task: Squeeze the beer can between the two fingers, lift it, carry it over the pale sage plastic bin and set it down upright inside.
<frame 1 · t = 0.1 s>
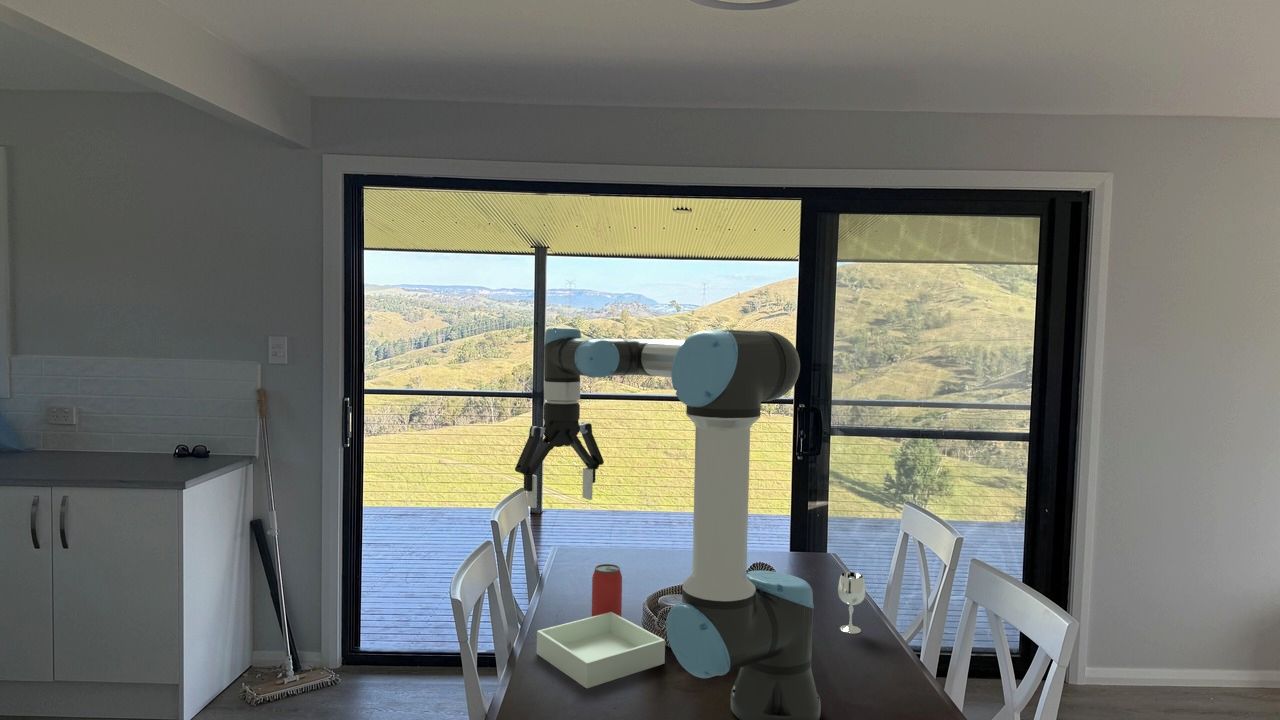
hand: (560, 502, 162), 28 cm above the table, fingers open, 13 cm apart
wineglass: (850, 630, 168), on the table
beer can: (606, 622, 170), on the table
bin: (599, 658, 151), on the table
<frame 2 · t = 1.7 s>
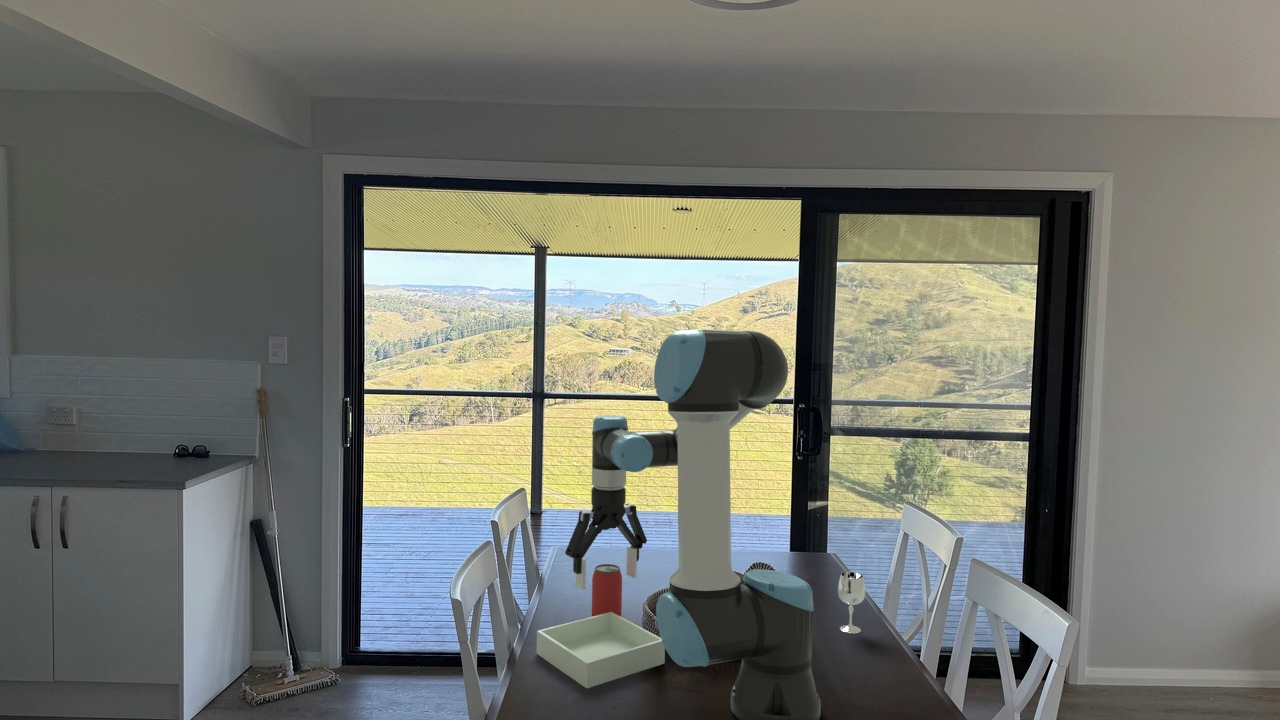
hand: (606, 581, 170), 9 cm above the table, fingers open, 13 cm apart
nothing on the table moved.
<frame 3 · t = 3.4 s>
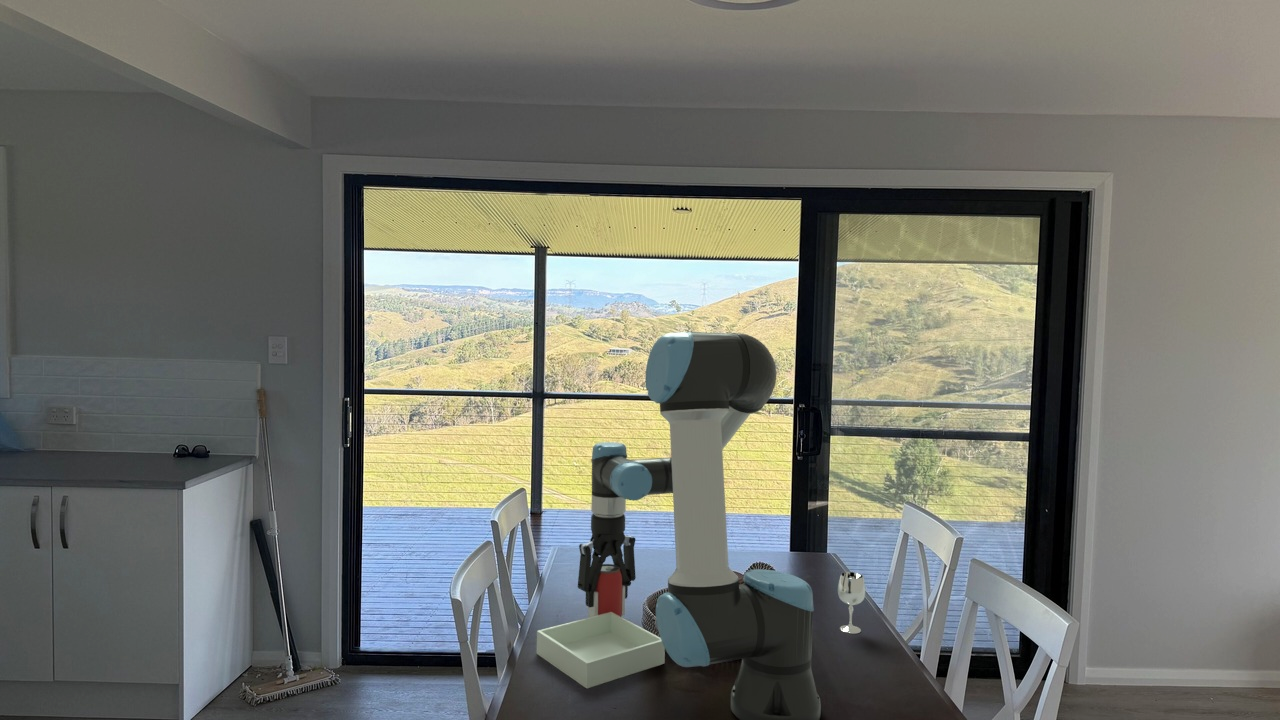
hand: (606, 616, 170), 1 cm above the table, fingers closed on beer can, 6 cm apart
beer can: (606, 622, 170), on the table, touching gripper
everything else where it was.
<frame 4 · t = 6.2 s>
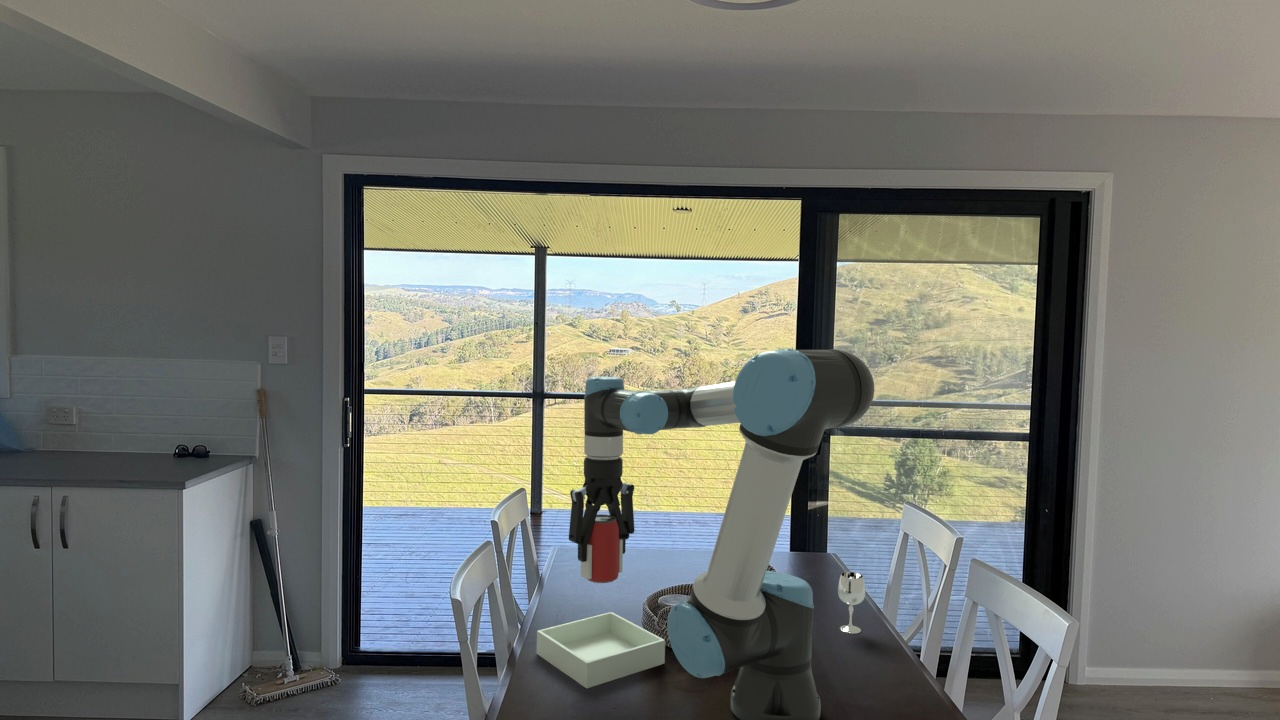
hand: (601, 573, 150), 17 cm above the table, fingers closed on beer can, 6 cm apart
beer can: (601, 579, 150), point 16 cm above the table, touching gripper
everything else where it was.
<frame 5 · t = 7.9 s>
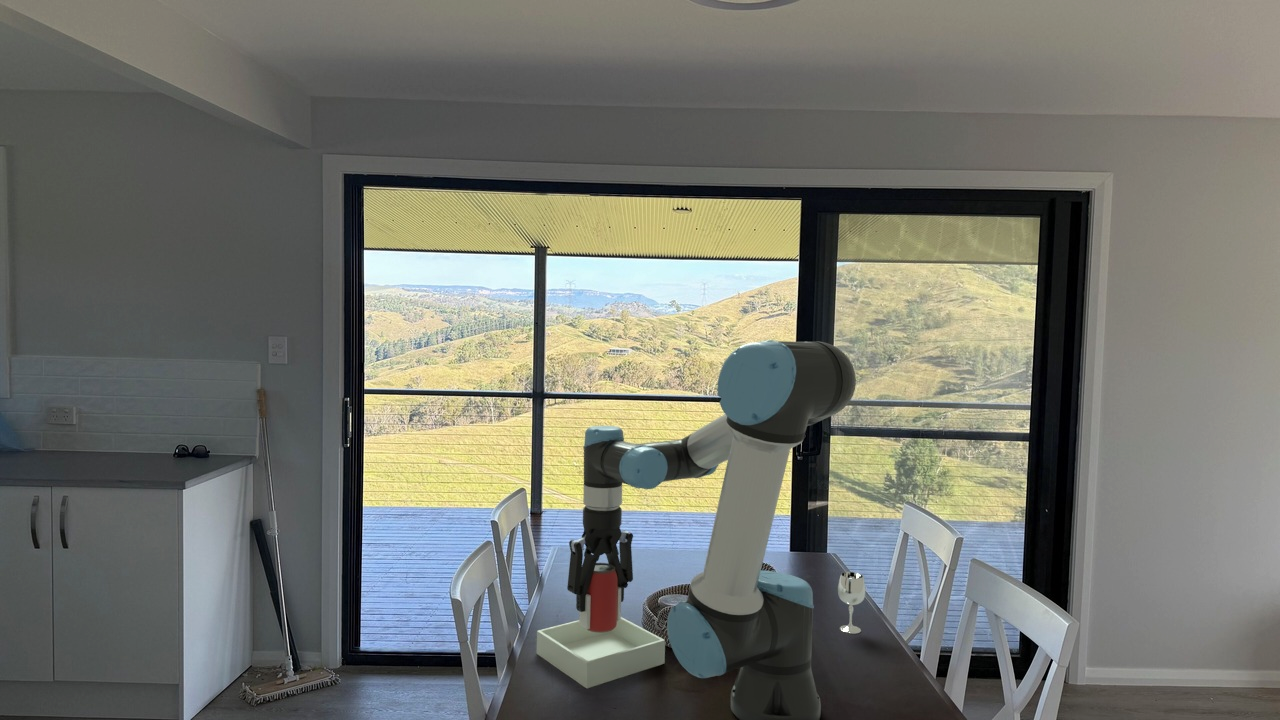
hand: (600, 622, 151), 7 cm above the table, fingers closed on beer can, 6 cm apart
beer can: (599, 628, 151), point 6 cm above the table, touching gripper
everything else where it was.
when the fingers open (4 cm above the table, at t = 9.4 s): beer can drops 2 cm, resting on bin.
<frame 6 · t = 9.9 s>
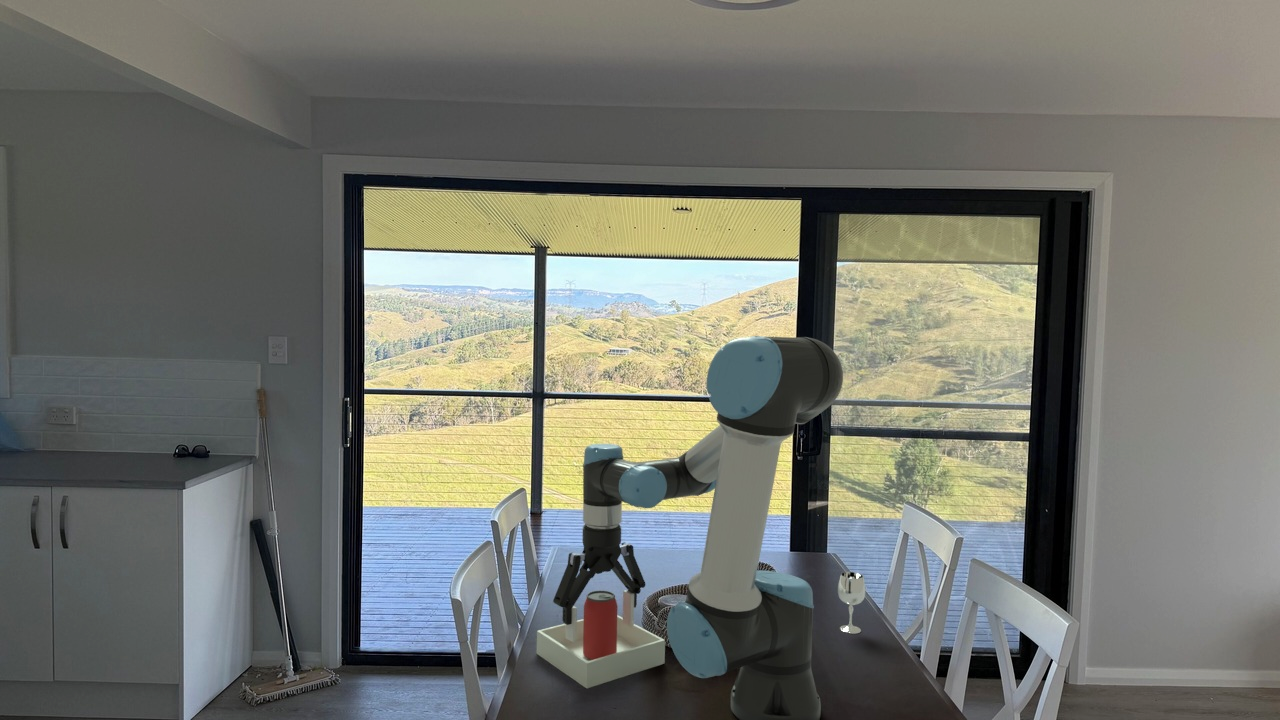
hand: (600, 632, 151), 5 cm above the table, fingers open, 13 cm apart
beer can: (599, 656, 151), resting on bin
everything else where it was.
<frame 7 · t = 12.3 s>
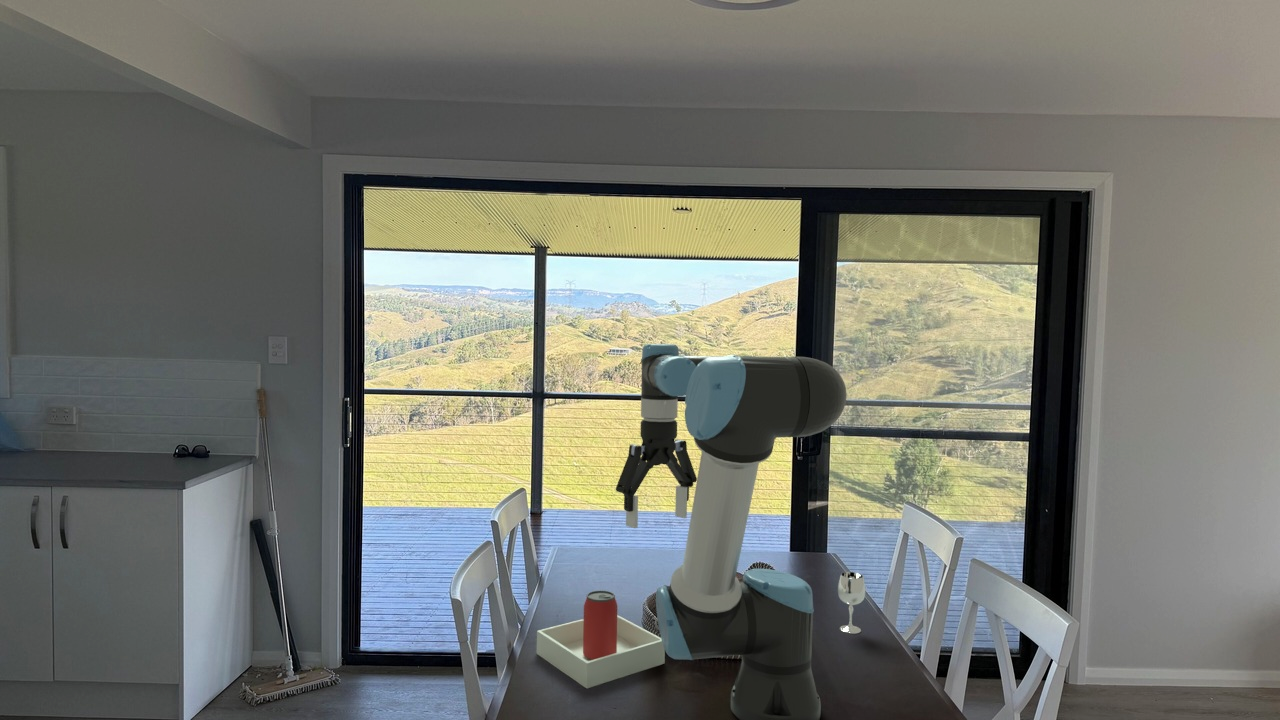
hand: (657, 521, 159), 25 cm above the table, fingers open, 13 cm apart
nothing on the table moved.
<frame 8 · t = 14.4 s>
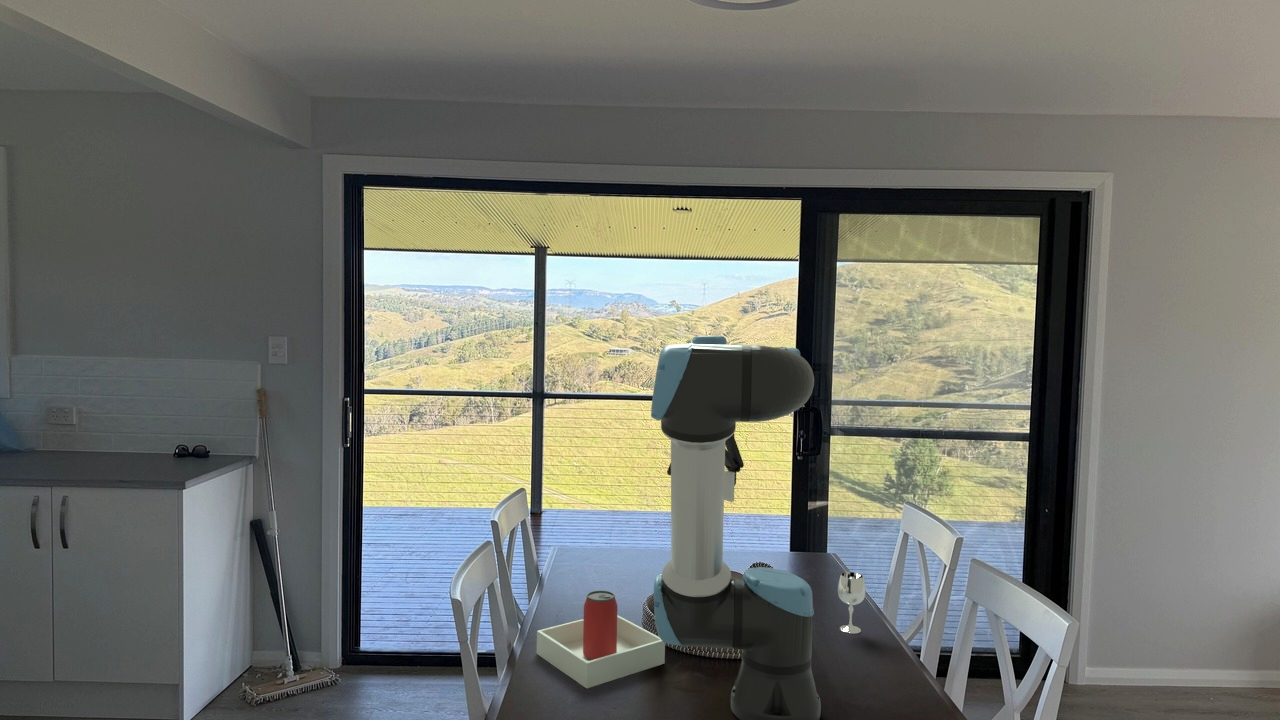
hand: (705, 504, 168), 27 cm above the table, fingers open, 13 cm apart
nothing on the table moved.
at the end: beer can inside the target area on the bin (0.0 cm from its centre), point 0.4 cm above the bin's base; beer can tilted 0°; the gripper is holding nothing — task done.
